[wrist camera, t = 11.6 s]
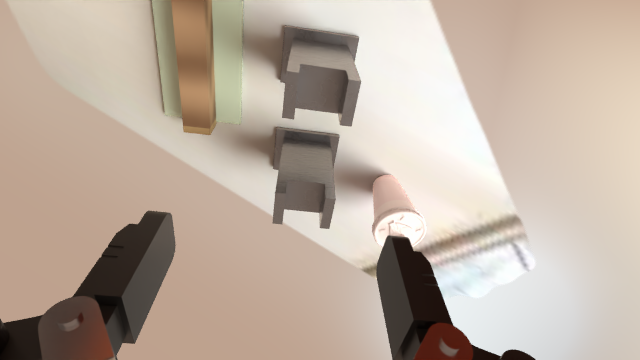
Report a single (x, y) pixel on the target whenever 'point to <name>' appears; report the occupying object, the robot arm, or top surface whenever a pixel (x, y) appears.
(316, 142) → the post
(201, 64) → the rail
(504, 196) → the top surface
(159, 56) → the mat
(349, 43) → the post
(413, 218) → the smoothie
